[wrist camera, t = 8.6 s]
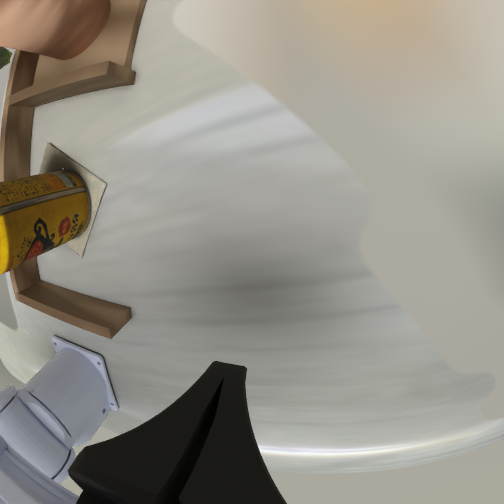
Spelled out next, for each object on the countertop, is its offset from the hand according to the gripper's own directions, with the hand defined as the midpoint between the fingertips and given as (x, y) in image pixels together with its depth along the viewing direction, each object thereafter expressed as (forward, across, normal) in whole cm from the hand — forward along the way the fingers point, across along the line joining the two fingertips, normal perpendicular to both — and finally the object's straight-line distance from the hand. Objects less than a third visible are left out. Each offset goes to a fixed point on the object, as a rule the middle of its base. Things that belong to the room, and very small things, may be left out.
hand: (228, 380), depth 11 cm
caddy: (+9, +17, -11) cm, 23 cm away
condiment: (+10, +18, -5) cm, 21 cm away
